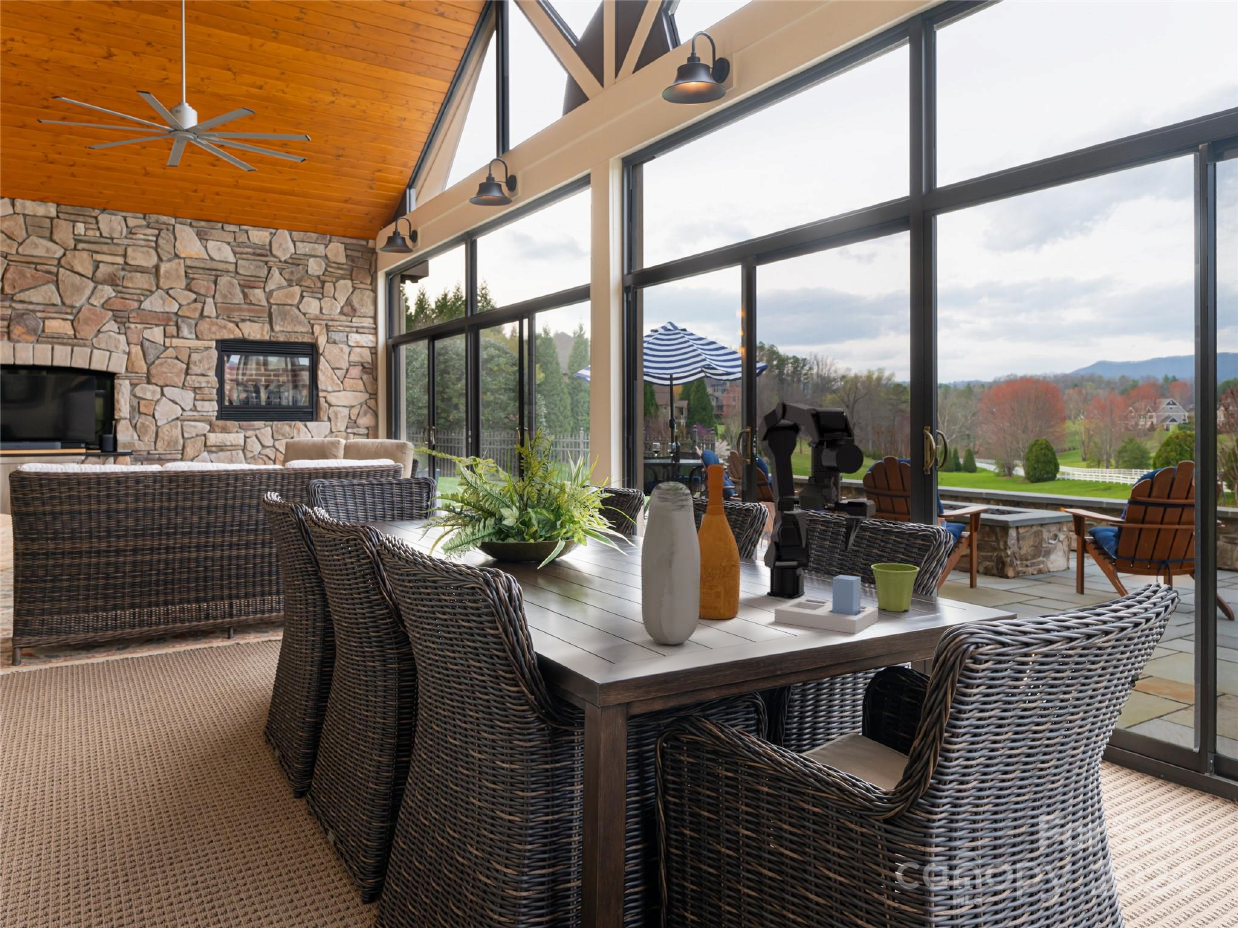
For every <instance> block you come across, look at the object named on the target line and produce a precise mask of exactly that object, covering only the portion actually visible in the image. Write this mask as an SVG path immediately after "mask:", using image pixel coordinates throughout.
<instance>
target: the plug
mask: <svg viewBox="0 0 1238 928" xmlns="http://www.w3.org/2000/svg"><path fill="white" fill-rule="evenodd" d="M861 583H862V577H861V576H855V575H854V576H853V575H846V574H845V575H844V574H839V575H837V576H835V577H832V613H838V614H845V615H853V616H856V615H858V614H860V606H861V597H862V596H861V589H862V588H861V587H862V585H861Z"/></svg>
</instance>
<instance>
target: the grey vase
mask: <svg viewBox="0 0 1238 928" xmlns="http://www.w3.org/2000/svg"><path fill="white" fill-rule="evenodd" d="M689 489H690V488H688V486H687V485H685V484H683V483H681V482H678V481H664V482H663V481H662V482H661V483H659V484H657V485H656V486H655V487H654V488H653V489H652V491H651V493H650V497H649V505H648V506H649V507H648V513H647V521H646V526H645V531H644V536H643V540H642V546H641V556H640V557H641V558H640V561H641V562H640V563H641V565H640V568H641V569H640V572H641V573H640V574H641V575H640V576H641V578H640V581H641V616H642V617H641V618H642V624H643V627H644V629H645V631H646V633H647V634H648V635H649V636H650V638H651V639H652V640H653V641H656V642H658V643H660V644H662V645H670V646H671V645H672V646H673V645H679V644H680V645H681V644H682V643H685V642H686V641H688V640H689V639H690V638H692V635H694V633H695V631H696V629H697V627H698V624H699V618H700V617H699V598H700V547H699V541H698V536H697V534H698V531H697V527H696V522H695V521H696V520H695V516H694V503H693V496H692V493H691V490H689Z"/></svg>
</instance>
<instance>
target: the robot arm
mask: <svg viewBox="0 0 1238 928" xmlns="http://www.w3.org/2000/svg"><path fill="white" fill-rule="evenodd" d="M802 427H804V430H803V428H802ZM802 430H803V431H804V432H805V433H806V434H808V435H809V437H810V438H811V440H810V441H809V442H808V444H807V446H808V448H811V449H810V476H809V475H808V479H807V484H806V486H805V487H803V488H802V489H801V490H800V491H799V492H798V493H797V495H796V490H795V482H794V472H793V464H792V455H793V453H794V452H795V449H796V447H797V446H798V445H797V444H798V438H799V436H800V434H801V432H802ZM757 439H758V441H759V445H760V450H761V452H762V453H763V454H764V456H765V457H766V458H767V459H768V461H769V467H770V476H771V477H770V478H771V486H772V496H773V505H774V506H773V507H774V515H775V516H774V517H775V525H774V527H773V529H772V531H771V534H770V536H769V539H770V542H769V545H768V547H767V549H766V551H765V553H764V556H763V563H764V566H765V567H767V568H768V569H769V573H770V575H769V576H770V577H769V578H770V579H769V591H767V592H766V595H768V596H774V597H782V598H789V599H794V598H795V599H796V598H797V597H800V596H802V595H805V594H806V591H804V590H805V574H804V573H803V568H805V569H808V568H809V564H810V561H811V553H812V546H811V542H810V537H809V529H808V527H807V513H808V512H807V510H808V511H814V512H822V511H828V512H842V513H843V512H844V513H846V514H847V515H848V516H845V517H844V521H845V533H844V534H845V536H844V551H845V552H849V551H850V548H851V546H852V544H853V542H854V540H855V537H856V534H857V533H858V530H859V529H860V526H861V525H862V524H863V522H864V521H865V520H868V519H869V518H870V516H874V515H876V511H877V506H876V503H875V502H874V500H871V499H870V500H869V499H852V500H848V501H847V502H843V496H841V482H843V475H841V474H844V475H845V474H846V475H847V474H848V475H851V474H856V472H859V470H861V468H862V467H863V464H864V461H865V460H864V458H865V457H864V455H863V454H864V453H863V451H862V449H861V448H860V447H859V446H858V445H856V444H855V439H856V438H855V432H854V430H853V428H852V426H851V423H850V421H849V417H848V415H847V413H846V411H845V410H844V409H843V408H842V407H814V406H811V405H808V404H804V403H802V402H799V401H797V400H795V401H794V400H789V401H788V400H781V401H780V402H778V403H777V404H776V406H775V408H774V409H772V410H770V412H768V413H767V414H765V415H764V416H763V417H762V420H761V421H760V424H759V426H758V428H757Z"/></svg>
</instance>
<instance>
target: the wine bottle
mask: <svg viewBox="0 0 1238 928" xmlns="http://www.w3.org/2000/svg"><path fill="white" fill-rule="evenodd" d="M724 478H725V467H724V466H723V465H722V464H719V463H714V464H713V463H711V464H710V465H708V466H707V483H706V484H707V485H706V487H707V488H708V497H707V508H706V509H705V510H706V512H705V514H702V515H701V523H700V527H699V529H698V531H697V536H698V541H699V547H700V598H699V618H700V619H706V620H727V619H733V618H734V617H736V616H737V615H738V613H739V608H740V594H741V593H740V592H741V591H740V589H741V588H740V587H741V586H740V585H741V559H740V552H739V549H738V545H737V542H736V538H735V536H734V534H733V531H732V529H731V527H730V524H729V521H728V519H727V516H726V512H725V509H724V501H723V488H724V487H725V481H724Z"/></svg>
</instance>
